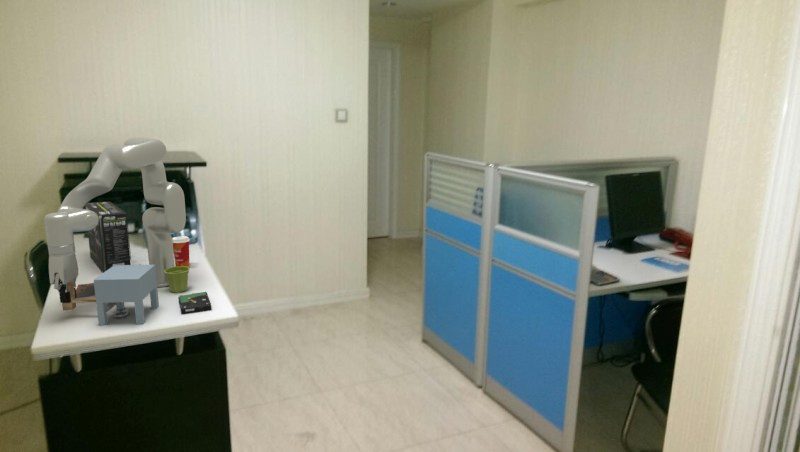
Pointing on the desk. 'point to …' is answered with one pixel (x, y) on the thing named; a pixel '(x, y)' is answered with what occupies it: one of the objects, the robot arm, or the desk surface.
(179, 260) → the paper cup
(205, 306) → the disk drive
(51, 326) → the desk surface
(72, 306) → the wooden mallet
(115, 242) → the router box
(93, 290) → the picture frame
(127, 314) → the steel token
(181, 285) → the plant pot
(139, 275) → the blue-grey small table
